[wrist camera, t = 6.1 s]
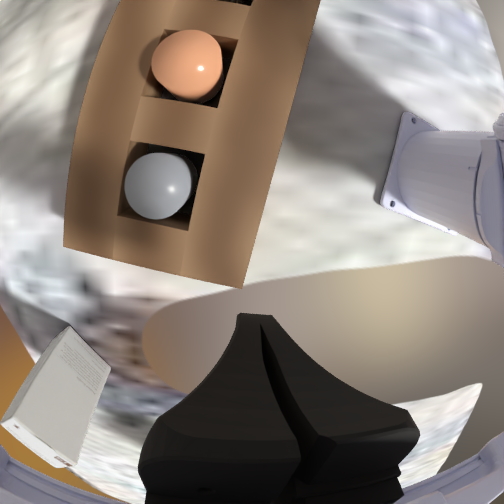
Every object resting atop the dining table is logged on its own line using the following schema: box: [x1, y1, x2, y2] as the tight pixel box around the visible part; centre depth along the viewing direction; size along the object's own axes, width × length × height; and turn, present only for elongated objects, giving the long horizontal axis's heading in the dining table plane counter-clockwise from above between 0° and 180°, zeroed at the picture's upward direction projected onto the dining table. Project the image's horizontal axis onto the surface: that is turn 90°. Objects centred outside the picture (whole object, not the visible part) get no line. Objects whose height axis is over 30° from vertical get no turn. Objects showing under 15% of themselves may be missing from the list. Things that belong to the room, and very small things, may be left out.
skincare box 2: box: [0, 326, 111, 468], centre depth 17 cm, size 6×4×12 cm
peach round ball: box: [151, 30, 224, 104], centre depth 14 cm, size 4×4×4 cm
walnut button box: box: [63, 0, 320, 289], centre depth 15 cm, size 12×24×4 cm, turn 165°
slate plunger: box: [125, 153, 198, 219], centre depth 16 cm, size 4×4×4 cm
